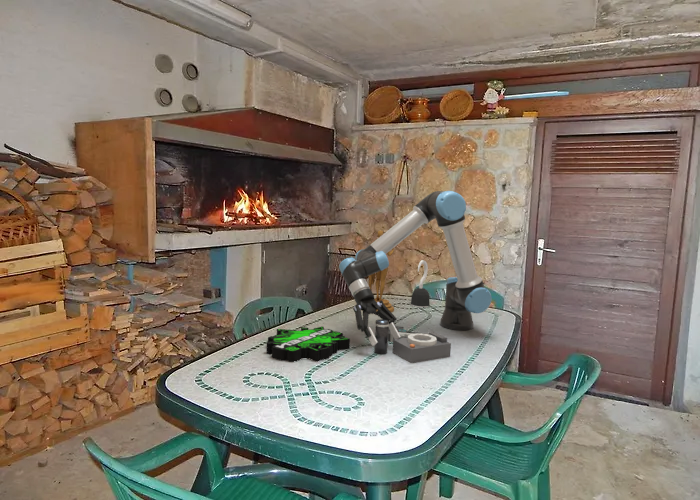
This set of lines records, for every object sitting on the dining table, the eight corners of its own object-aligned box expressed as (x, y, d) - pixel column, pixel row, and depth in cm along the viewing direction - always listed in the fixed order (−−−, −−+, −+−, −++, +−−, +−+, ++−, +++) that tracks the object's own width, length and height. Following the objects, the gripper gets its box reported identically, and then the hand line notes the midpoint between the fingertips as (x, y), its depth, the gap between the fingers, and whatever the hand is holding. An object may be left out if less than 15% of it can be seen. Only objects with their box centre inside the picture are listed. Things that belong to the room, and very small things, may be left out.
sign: (305, 357, 158) (244, 338, 175) (305, 369, 159) (244, 349, 176) (360, 335, 185) (302, 321, 202) (359, 346, 185) (302, 331, 202)
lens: (382, 349, 182) (384, 318, 180) (390, 353, 177) (392, 322, 176) (371, 350, 179) (372, 319, 178) (378, 355, 175) (380, 323, 173)
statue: (396, 307, 250) (400, 230, 246) (391, 315, 234) (395, 232, 229) (365, 304, 254) (368, 228, 249) (358, 311, 238) (362, 230, 233)
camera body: (430, 346, 187) (431, 330, 186) (450, 356, 177) (451, 339, 176) (392, 352, 178) (393, 335, 178) (411, 362, 168) (412, 345, 167)
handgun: (437, 337, 201) (436, 348, 187) (387, 332, 206) (382, 342, 191) (438, 328, 201) (437, 338, 186) (387, 323, 205) (382, 332, 191)
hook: (425, 308, 251) (428, 262, 248) (406, 305, 257) (409, 260, 254) (433, 304, 260) (436, 260, 257) (415, 301, 266) (418, 258, 263)
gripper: (379, 294, 196) (403, 341, 186) (333, 301, 181) (357, 352, 171) (388, 284, 191) (414, 331, 181) (342, 290, 176) (367, 341, 166)
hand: (386, 341), depth 176 cm, fingers open, 11 cm apart
